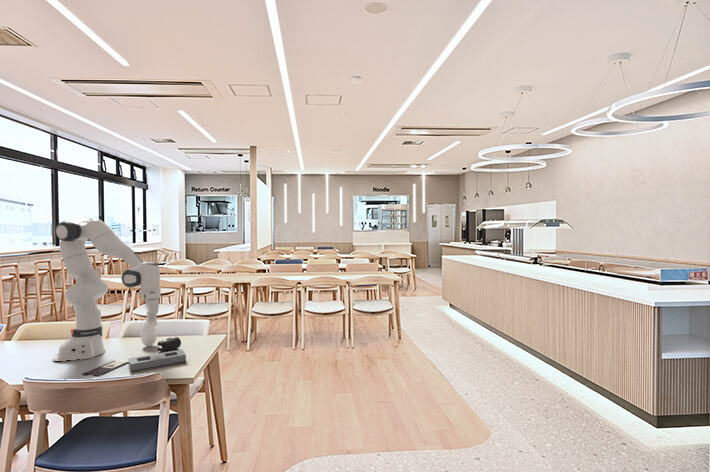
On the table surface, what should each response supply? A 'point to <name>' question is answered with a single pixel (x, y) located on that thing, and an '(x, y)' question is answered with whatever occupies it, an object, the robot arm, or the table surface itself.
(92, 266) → the robot arm
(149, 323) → the charger
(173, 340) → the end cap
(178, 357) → the power strip
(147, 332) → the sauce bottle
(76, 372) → the table surface
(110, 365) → the chocolate bar
